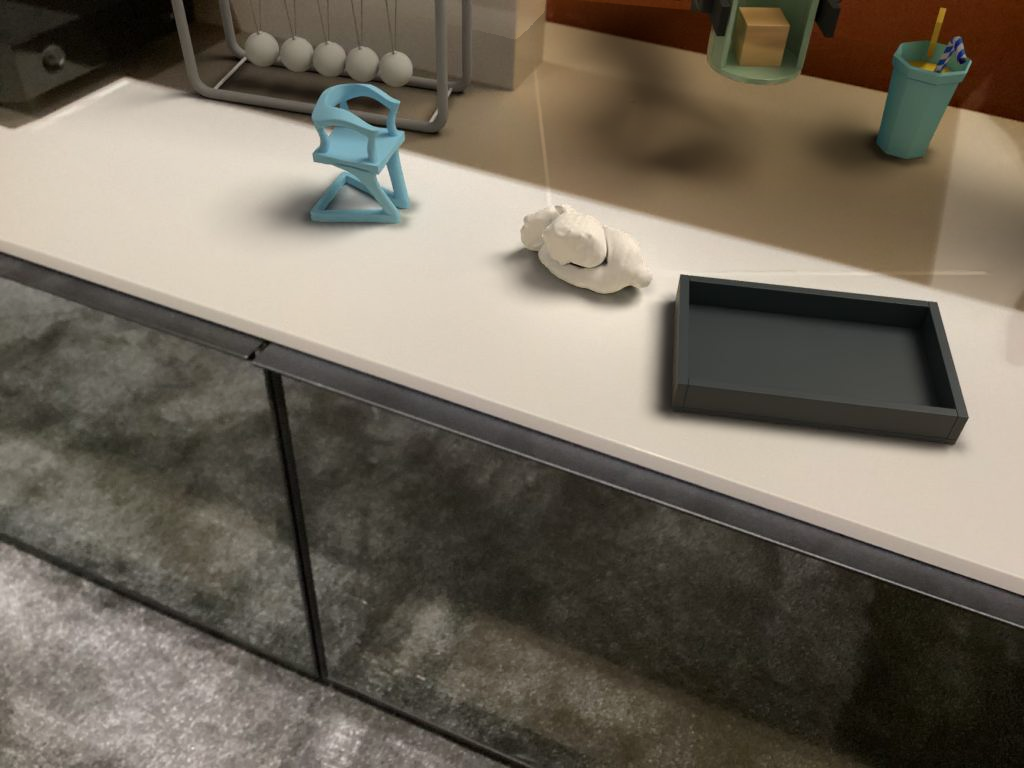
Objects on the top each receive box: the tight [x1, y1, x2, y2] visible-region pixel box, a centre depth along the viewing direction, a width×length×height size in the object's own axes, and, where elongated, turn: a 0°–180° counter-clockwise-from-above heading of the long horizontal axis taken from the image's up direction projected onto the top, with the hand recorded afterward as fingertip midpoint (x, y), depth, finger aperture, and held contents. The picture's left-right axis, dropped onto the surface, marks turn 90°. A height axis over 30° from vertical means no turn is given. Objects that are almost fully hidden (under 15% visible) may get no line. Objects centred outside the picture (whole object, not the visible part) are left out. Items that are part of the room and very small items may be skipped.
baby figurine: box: [519, 203, 653, 295], centre depth 85 cm, size 9×12×8 cm
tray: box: [671, 273, 970, 445], centre depth 78 cm, size 22×14×3 cm, turn 82°
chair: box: [309, 83, 411, 224], centre depth 90 cm, size 8×8×12 cm
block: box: [731, 7, 790, 66], centre depth 92 cm, size 4×4×4 cm
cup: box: [875, 7, 973, 160], centre depth 98 cm, size 14×8×15 cm, turn 173°
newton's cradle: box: [170, 0, 473, 134], centre depth 103 cm, size 30×10×18 cm, turn 76°
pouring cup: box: [706, 0, 820, 86], centre depth 90 cm, size 9×9×10 cm
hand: (778, 22), depth 86 cm, fingers closed on pouring cup, 9 cm apart
